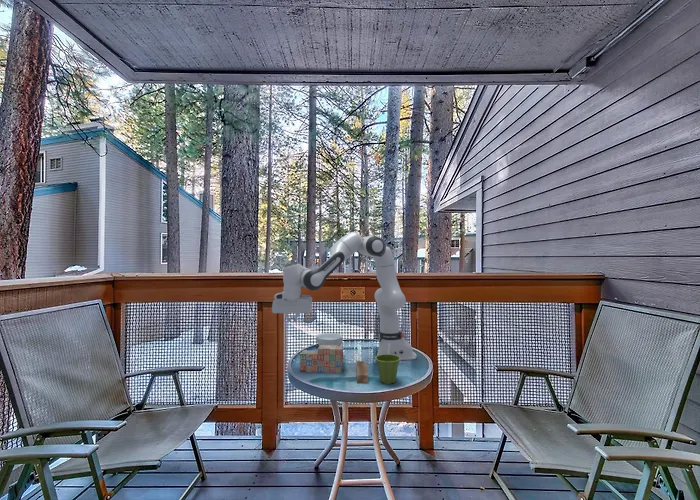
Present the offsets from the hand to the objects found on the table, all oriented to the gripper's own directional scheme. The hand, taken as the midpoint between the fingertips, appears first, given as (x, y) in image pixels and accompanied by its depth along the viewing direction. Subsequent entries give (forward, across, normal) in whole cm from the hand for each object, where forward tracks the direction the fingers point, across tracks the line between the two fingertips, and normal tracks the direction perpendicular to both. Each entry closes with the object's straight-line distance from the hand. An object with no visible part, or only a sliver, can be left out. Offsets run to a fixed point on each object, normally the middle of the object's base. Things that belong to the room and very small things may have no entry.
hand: (292, 321), depth 182 cm
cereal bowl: (+25, -16, -41) cm, 51 cm away
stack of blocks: (+26, -15, 0) cm, 30 cm away
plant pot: (+25, -48, +15) cm, 56 cm away
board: (+26, -35, +7) cm, 44 cm away
